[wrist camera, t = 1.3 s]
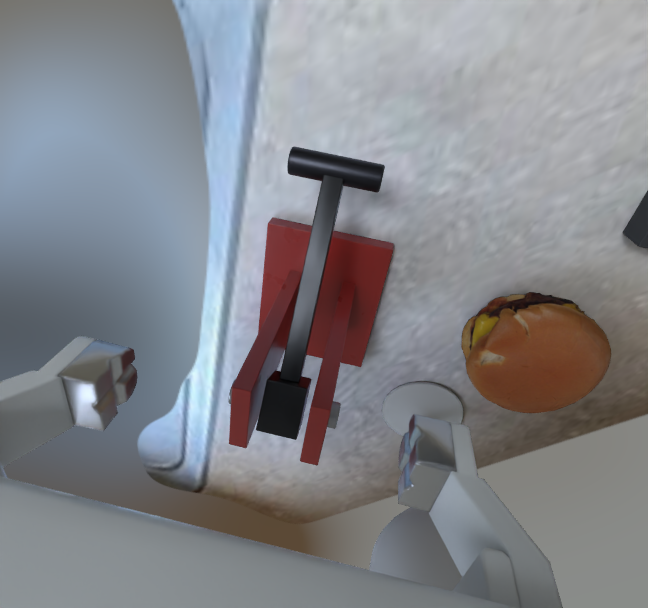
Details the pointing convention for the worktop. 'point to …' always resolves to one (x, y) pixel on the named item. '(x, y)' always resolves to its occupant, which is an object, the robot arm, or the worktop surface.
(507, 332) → the burger
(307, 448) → the bracket
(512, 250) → the worktop surface
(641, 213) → the button box
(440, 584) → the wineglass
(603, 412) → the worktop surface
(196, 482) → the worktop surface
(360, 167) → the lever
